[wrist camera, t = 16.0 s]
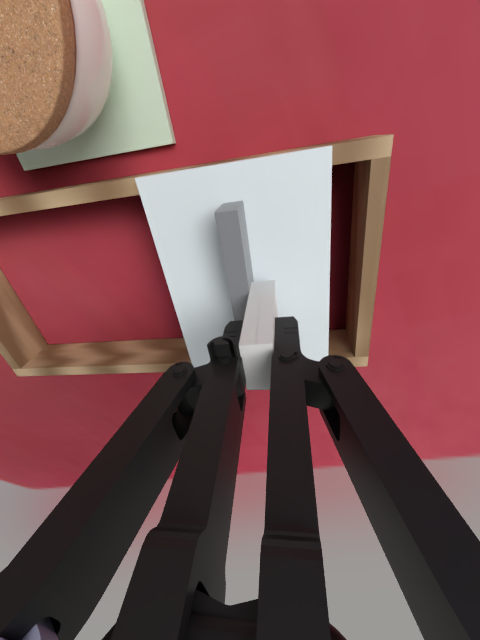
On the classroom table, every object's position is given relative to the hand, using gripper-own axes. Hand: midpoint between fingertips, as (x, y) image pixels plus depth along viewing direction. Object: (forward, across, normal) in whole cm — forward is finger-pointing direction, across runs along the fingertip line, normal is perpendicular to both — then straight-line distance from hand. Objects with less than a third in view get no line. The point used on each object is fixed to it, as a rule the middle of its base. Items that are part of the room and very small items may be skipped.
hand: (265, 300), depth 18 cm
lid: (+2, -1, 0) cm, 2 cm away
